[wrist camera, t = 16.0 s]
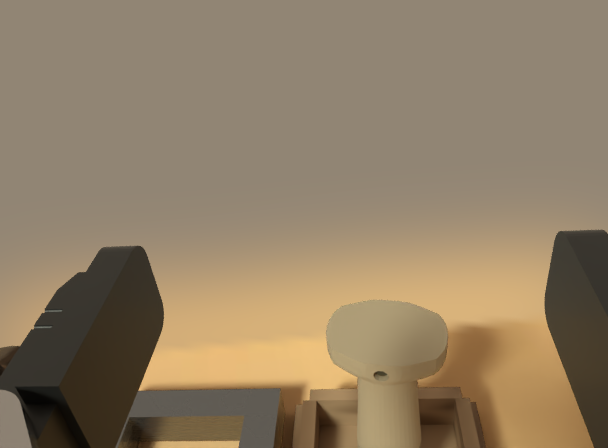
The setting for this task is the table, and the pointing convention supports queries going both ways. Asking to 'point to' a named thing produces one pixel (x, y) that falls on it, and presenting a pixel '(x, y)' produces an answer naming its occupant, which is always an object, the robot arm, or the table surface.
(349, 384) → the table surface
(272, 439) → the socket block
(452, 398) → the tray
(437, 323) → the handle
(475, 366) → the table surface
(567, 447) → the table surface
